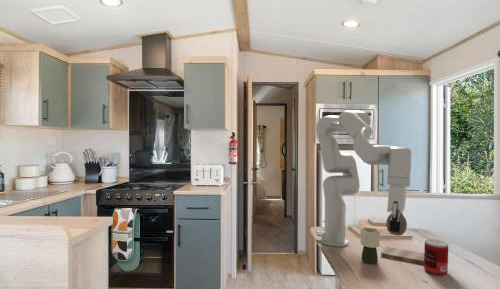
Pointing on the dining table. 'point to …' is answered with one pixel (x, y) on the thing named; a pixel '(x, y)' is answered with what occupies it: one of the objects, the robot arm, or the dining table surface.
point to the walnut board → (403, 255)
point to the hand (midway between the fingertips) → (396, 228)
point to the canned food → (436, 257)
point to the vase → (402, 224)
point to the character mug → (370, 244)
